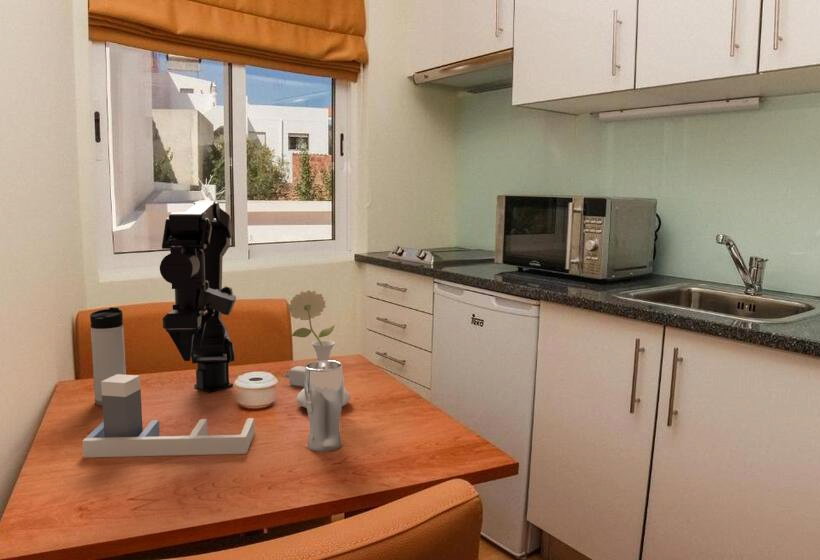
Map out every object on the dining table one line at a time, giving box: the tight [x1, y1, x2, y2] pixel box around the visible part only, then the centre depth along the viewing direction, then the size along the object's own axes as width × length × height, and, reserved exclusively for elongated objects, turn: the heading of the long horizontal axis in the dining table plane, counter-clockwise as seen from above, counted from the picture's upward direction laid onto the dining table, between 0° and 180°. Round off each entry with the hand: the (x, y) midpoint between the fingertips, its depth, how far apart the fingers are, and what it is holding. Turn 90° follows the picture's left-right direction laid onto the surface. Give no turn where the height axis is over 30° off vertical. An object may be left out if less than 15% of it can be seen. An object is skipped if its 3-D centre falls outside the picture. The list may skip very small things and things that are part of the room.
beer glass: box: [303, 359, 345, 453], centre depth 113 cm, size 7×7×15 cm
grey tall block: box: [101, 374, 144, 438], centre depth 112 cm, size 4×4×12 cm
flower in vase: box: [287, 290, 351, 409], centre depth 133 cm, size 13×11×25 cm
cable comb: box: [82, 417, 256, 459], centre depth 113 cm, size 27×9×3 cm, turn 95°
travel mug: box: [89, 307, 127, 407], centre depth 134 cm, size 6×7×20 cm
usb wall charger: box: [281, 365, 306, 388], centre depth 149 cm, size 4×7×4 cm, turn 69°
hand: (192, 354), depth 125 cm, fingers open, 9 cm apart
